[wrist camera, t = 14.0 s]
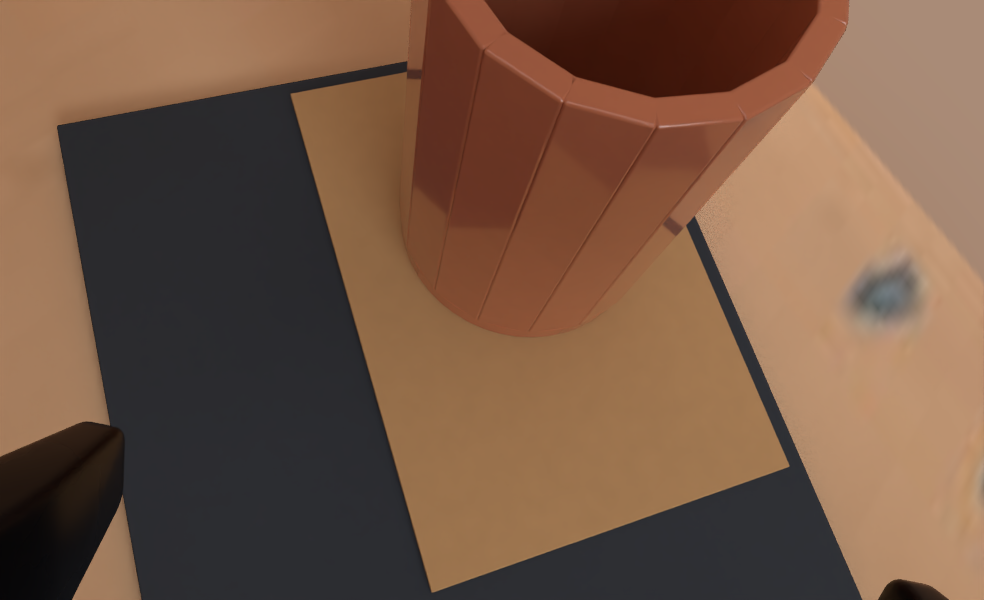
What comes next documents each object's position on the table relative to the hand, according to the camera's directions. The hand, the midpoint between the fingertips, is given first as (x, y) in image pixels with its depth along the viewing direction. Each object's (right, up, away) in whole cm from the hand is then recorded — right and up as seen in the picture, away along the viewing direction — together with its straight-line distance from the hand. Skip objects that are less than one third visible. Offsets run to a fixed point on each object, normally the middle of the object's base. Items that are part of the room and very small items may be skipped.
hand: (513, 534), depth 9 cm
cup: (+1, +5, +12) cm, 13 cm away
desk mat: (0, -2, +10) cm, 10 cm away
